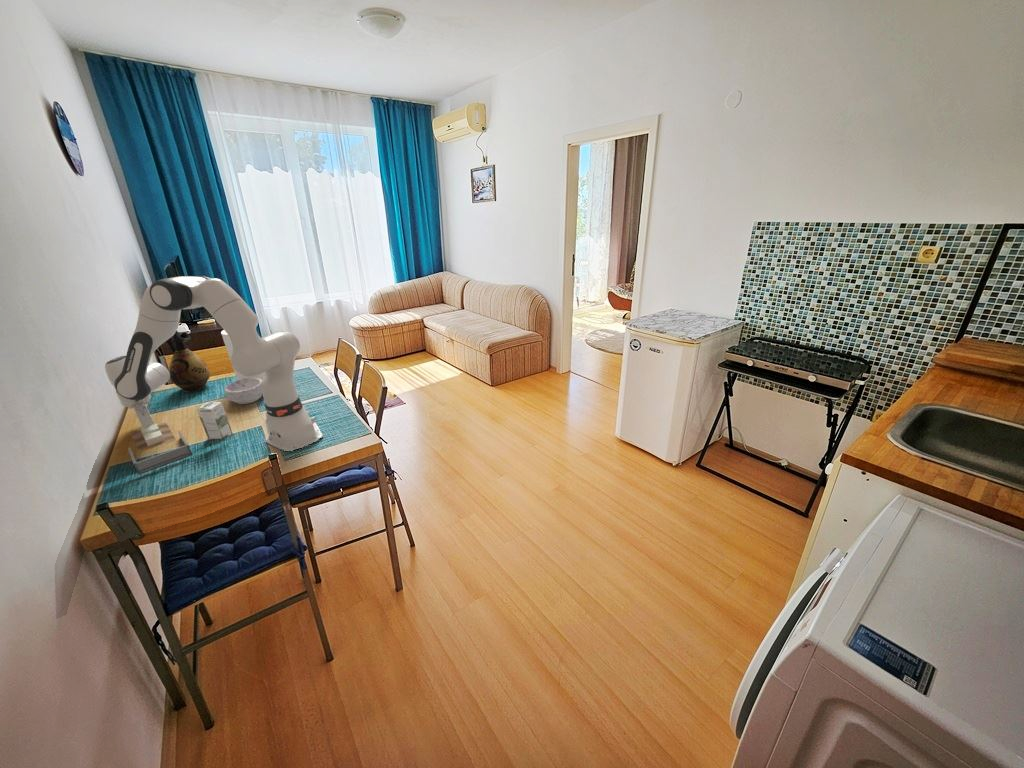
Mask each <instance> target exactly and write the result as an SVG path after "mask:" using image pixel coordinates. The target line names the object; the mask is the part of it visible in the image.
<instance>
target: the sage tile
mask: <svg viewBox="0 0 1024 768" xmlns="http://www.w3.org/2000/svg"><path fill="white" fill-rule="evenodd" d="M157 425H158V424H157V423H154V424H152V425H151V426H148V427H142V428H140V430H141V432H142V434H143V436H144V435H147V434H150V433H153V432H157V431H160V430H159V428H158V426H157Z"/></svg>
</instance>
